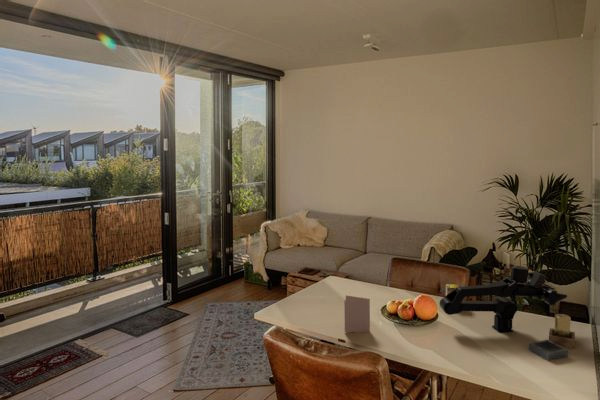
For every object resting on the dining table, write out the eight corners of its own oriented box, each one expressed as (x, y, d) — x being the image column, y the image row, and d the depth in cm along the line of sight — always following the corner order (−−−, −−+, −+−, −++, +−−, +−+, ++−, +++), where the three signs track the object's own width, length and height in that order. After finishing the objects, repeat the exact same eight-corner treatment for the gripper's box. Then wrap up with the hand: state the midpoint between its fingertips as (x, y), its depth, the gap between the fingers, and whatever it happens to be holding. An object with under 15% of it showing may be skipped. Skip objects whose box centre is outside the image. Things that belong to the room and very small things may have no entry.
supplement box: (459, 309, 219) (459, 288, 218) (446, 308, 221) (447, 287, 219) (457, 304, 225) (457, 284, 224) (445, 304, 226) (445, 283, 225)
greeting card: (370, 330, 196) (370, 298, 194) (364, 337, 189) (364, 303, 187) (346, 326, 201) (346, 294, 199) (340, 332, 194) (340, 299, 193)
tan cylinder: (559, 345, 177) (560, 319, 176) (550, 339, 183) (552, 314, 182) (572, 344, 178) (573, 318, 177) (563, 338, 183) (564, 313, 182)
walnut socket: (548, 343, 179) (548, 335, 178) (549, 335, 186) (549, 327, 186) (574, 348, 174) (574, 340, 174) (574, 340, 182) (574, 332, 181)
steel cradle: (548, 361, 165) (548, 353, 164) (528, 350, 174) (528, 343, 173) (567, 357, 167) (568, 349, 167) (547, 346, 176) (547, 339, 176)
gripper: (539, 278, 182) (576, 281, 182) (517, 267, 200) (550, 269, 200) (535, 304, 183) (572, 307, 183) (514, 290, 201) (547, 292, 201)
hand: (560, 292), depth 192 cm, fingers open, 9 cm apart
